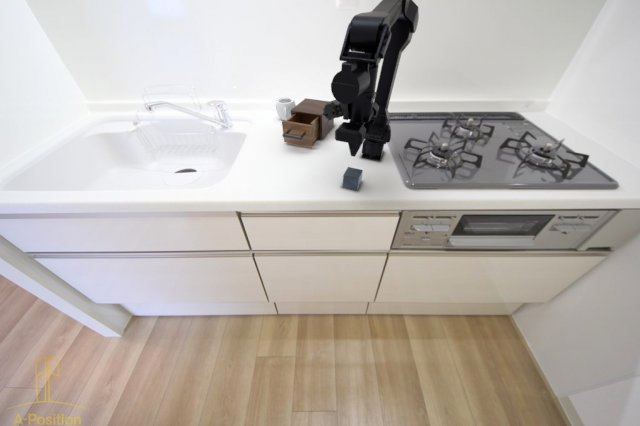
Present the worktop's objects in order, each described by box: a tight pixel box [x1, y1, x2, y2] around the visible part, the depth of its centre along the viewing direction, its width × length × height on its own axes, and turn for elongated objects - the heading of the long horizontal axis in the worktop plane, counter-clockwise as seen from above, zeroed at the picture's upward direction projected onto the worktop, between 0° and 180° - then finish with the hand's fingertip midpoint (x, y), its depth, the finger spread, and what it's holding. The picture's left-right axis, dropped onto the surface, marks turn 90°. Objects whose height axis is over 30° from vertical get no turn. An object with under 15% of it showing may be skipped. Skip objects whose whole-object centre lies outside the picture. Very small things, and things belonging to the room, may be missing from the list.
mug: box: [275, 96, 297, 121], centre depth 102 cm, size 12×8×8 cm
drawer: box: [281, 113, 320, 148], centre depth 87 cm, size 17×11×8 cm
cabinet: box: [291, 98, 335, 141], centre depth 94 cm, size 14×13×10 cm
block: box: [342, 166, 364, 192], centre depth 69 cm, size 4×4×4 cm
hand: (355, 152), depth 63 cm, fingers open, 4 cm apart
